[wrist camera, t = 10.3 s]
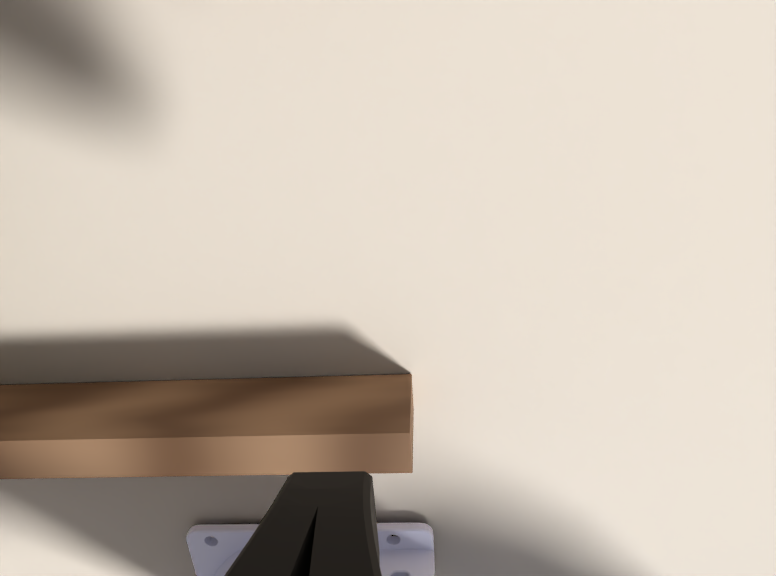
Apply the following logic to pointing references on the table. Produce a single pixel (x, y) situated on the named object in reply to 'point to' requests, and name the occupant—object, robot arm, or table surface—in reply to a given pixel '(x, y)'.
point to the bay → (207, 427)
